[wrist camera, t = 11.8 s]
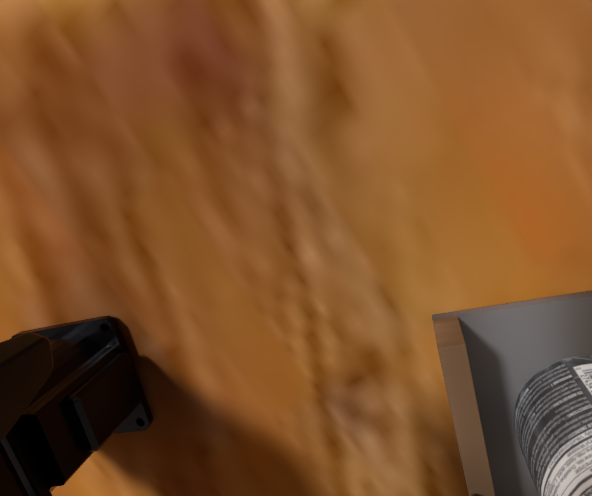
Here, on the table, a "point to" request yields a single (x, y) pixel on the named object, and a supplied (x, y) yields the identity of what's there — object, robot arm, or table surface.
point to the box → (503, 378)
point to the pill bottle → (558, 427)
